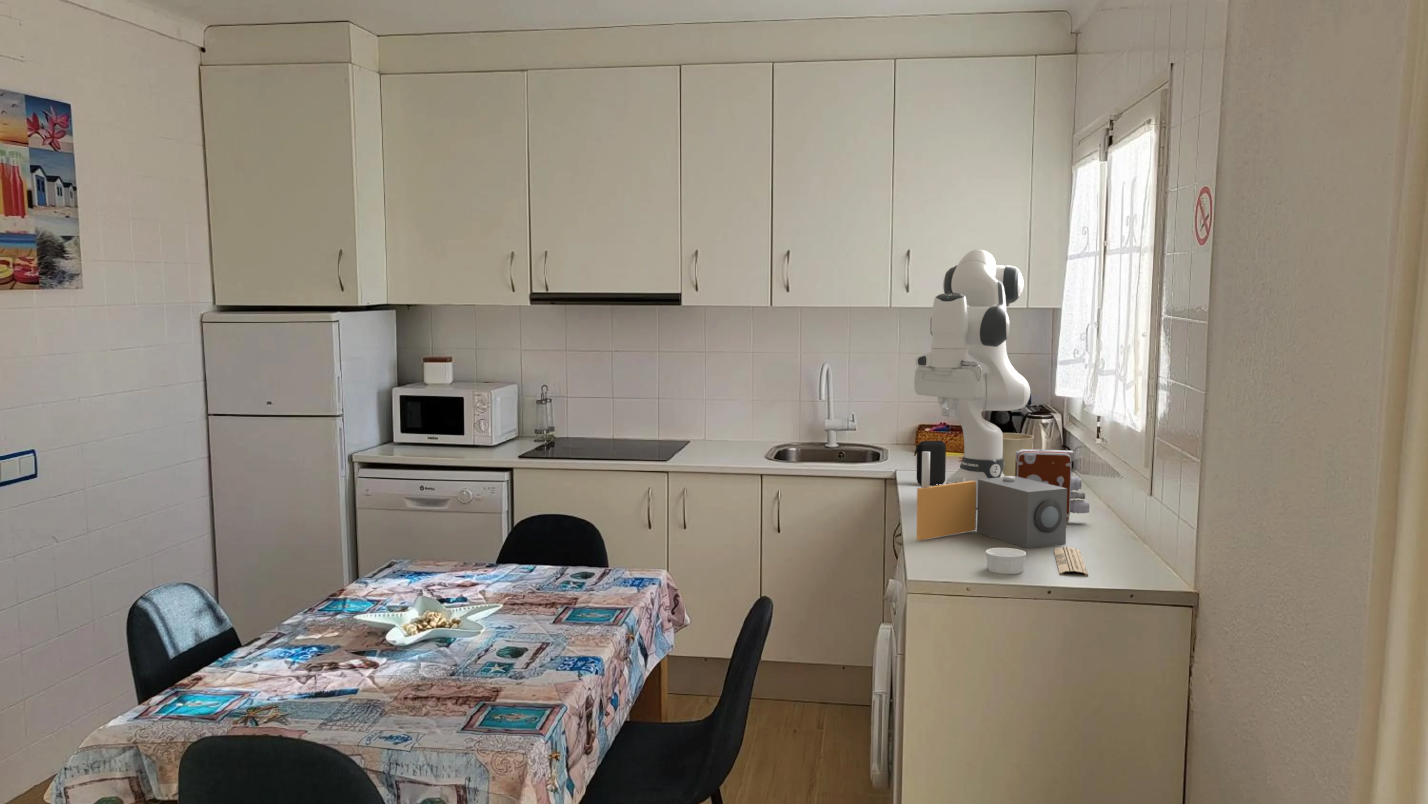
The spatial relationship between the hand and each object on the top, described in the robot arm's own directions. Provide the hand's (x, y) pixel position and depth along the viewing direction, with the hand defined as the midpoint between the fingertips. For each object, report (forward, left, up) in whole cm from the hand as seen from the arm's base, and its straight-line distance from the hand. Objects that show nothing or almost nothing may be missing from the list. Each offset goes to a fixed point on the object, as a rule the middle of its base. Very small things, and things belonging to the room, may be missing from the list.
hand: (948, 416), depth 264 cm
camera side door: (-8, +6, -32) cm, 33 cm away
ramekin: (+26, -2, -33) cm, 42 cm away
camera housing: (+1, +22, -32) cm, 39 cm away
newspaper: (+26, +16, -33) cm, 45 cm away
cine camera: (-11, +42, -33) cm, 54 cm away
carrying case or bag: (-73, +44, -33) cm, 91 cm away
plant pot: (-65, +70, -33) cm, 101 cm away
